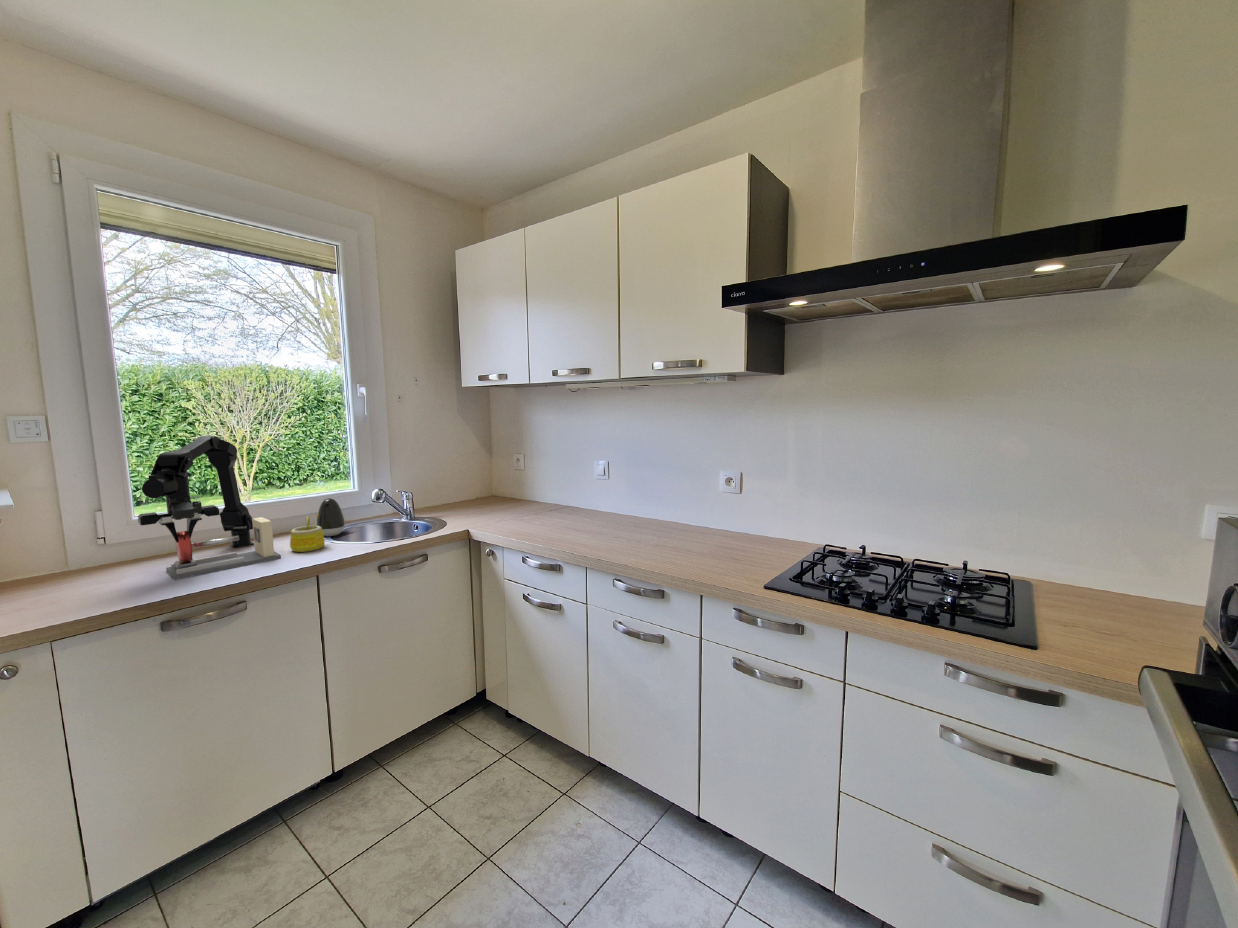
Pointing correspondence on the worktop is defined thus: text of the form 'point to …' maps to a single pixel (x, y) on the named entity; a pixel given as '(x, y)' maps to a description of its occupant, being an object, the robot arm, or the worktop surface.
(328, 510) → the dark grey tall dome
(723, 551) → the worktop surface
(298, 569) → the worktop surface
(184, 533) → the red wheel on axle
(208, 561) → the block
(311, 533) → the yellow birthday cake
